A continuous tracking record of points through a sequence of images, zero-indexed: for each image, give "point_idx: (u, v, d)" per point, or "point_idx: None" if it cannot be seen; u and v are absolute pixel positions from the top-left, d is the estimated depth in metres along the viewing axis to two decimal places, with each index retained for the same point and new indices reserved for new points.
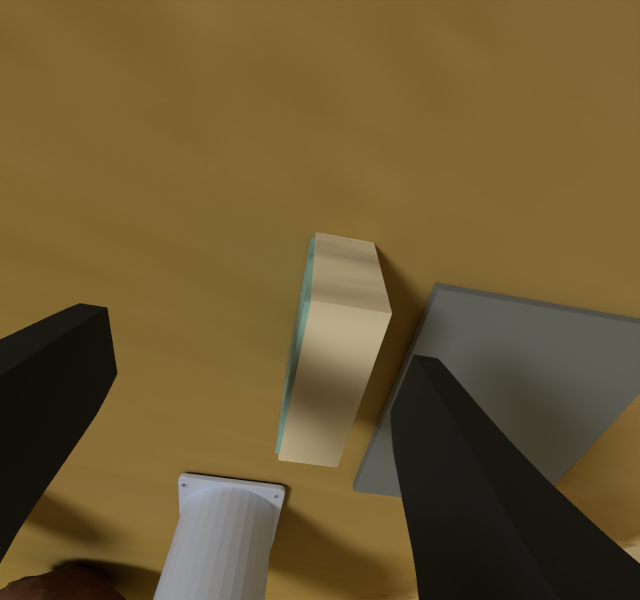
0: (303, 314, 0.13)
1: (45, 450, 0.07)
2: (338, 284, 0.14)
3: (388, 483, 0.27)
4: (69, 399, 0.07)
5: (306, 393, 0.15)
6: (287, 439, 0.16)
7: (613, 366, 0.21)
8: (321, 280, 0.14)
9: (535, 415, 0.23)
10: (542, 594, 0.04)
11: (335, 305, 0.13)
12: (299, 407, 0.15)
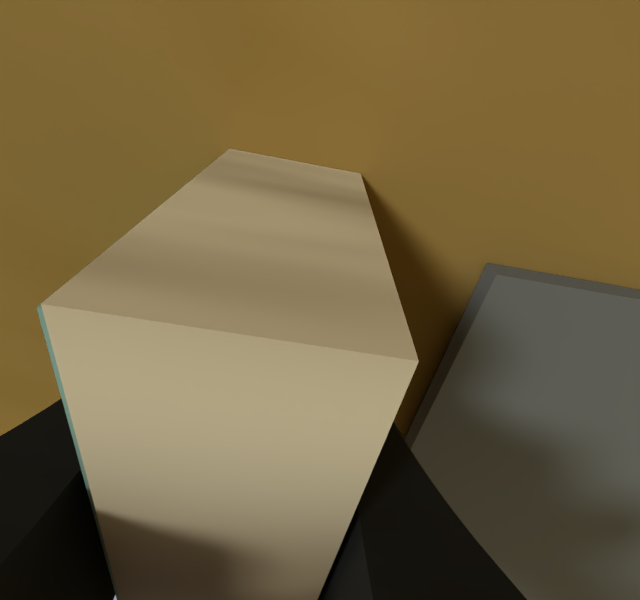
0: None
1: None
2: (221, 246, 0.04)
3: None
4: None
5: (155, 580, 0.05)
6: None
7: None
8: (163, 234, 0.04)
9: None
10: (363, 575, 0.04)
11: (160, 328, 0.03)
12: None
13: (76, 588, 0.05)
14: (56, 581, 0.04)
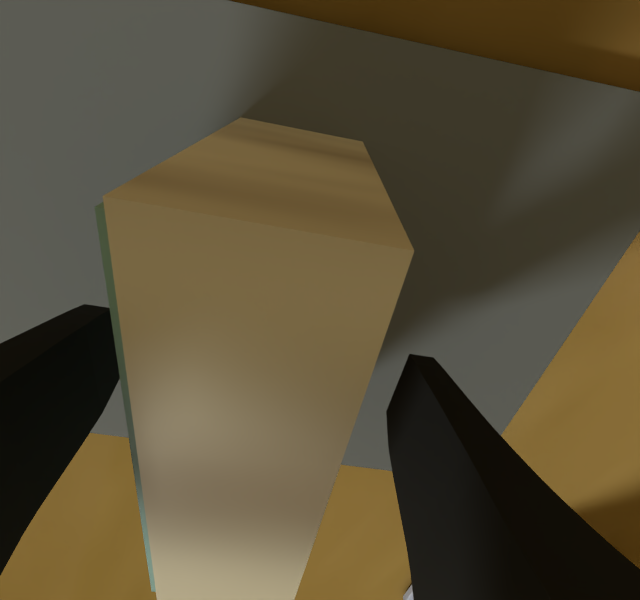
0: (107, 261, 0.04)
1: (51, 451, 0.07)
2: (242, 176, 0.04)
3: None
4: (75, 400, 0.07)
5: (179, 490, 0.06)
6: (164, 576, 0.07)
7: (22, 108, 0.08)
8: (192, 165, 0.04)
9: None
10: (533, 593, 0.04)
11: (201, 220, 0.03)
12: (171, 518, 0.06)
13: None
14: None
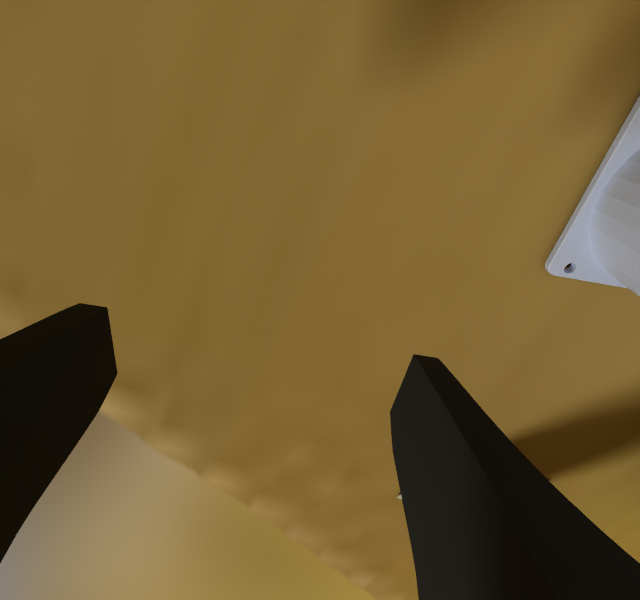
0: None
1: (45, 450, 0.07)
2: None
3: None
4: (69, 399, 0.07)
5: None
6: None
7: None
8: None
9: None
10: (543, 594, 0.04)
11: None
12: None
13: None
14: None
